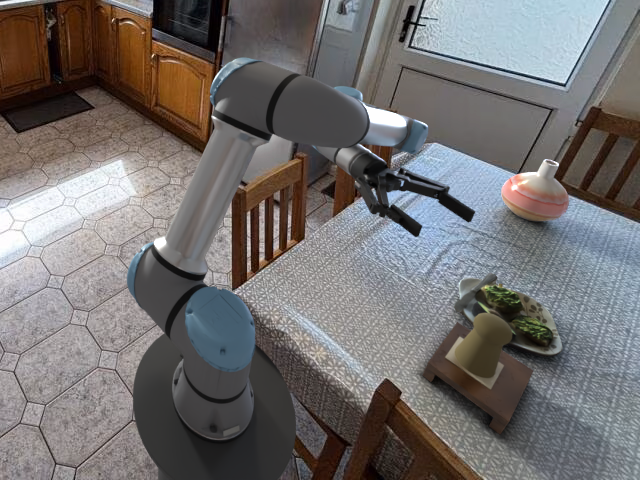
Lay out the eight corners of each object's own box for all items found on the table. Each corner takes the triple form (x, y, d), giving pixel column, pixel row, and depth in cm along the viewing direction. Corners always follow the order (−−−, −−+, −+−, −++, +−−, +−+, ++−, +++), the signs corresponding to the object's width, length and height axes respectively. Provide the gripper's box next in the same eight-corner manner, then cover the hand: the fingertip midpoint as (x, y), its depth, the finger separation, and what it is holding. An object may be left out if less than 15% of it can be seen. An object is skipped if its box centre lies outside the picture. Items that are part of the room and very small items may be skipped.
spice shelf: (421, 375, 79) (428, 361, 77) (451, 334, 86) (457, 321, 84) (500, 434, 70) (509, 421, 68) (525, 383, 77) (534, 369, 75)
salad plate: (448, 264, 102) (454, 250, 100) (544, 297, 93) (553, 283, 91) (451, 325, 88) (458, 310, 86) (566, 372, 79) (576, 356, 77)
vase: (570, 235, 110) (601, 182, 103) (508, 224, 114) (534, 172, 107) (541, 203, 122) (567, 153, 114) (486, 194, 126) (508, 145, 118)
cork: (462, 372, 75) (483, 333, 70) (449, 341, 80) (468, 303, 75) (501, 382, 73) (526, 342, 69) (486, 350, 78) (508, 311, 74)
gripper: (398, 168, 104) (486, 225, 85) (315, 187, 97) (390, 252, 79) (406, 143, 101) (499, 196, 82) (321, 160, 94) (401, 222, 76)
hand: (446, 224), depth 80 cm, fingers open, 13 cm apart
